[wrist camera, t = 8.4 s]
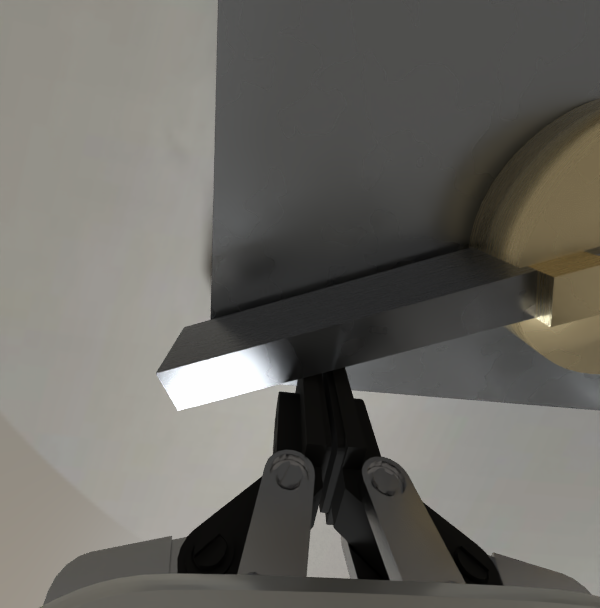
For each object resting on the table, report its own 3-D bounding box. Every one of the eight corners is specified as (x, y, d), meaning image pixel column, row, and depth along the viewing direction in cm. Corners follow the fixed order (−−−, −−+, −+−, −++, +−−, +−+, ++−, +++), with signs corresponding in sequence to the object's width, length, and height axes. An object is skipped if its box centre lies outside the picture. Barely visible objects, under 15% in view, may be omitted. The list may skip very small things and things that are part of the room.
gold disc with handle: (682, 304, 13) (822, 353, 10) (232, 418, 15) (216, 495, 11) (750, 52, 10) (1014, -12, 6) (141, 238, 11) (76, 272, 8)
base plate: (783, 67, 11) (857, 52, 10) (576, 391, 17) (603, 412, 16) (229, -54, 9) (219, -95, 8) (215, 359, 15) (208, 379, 14)
